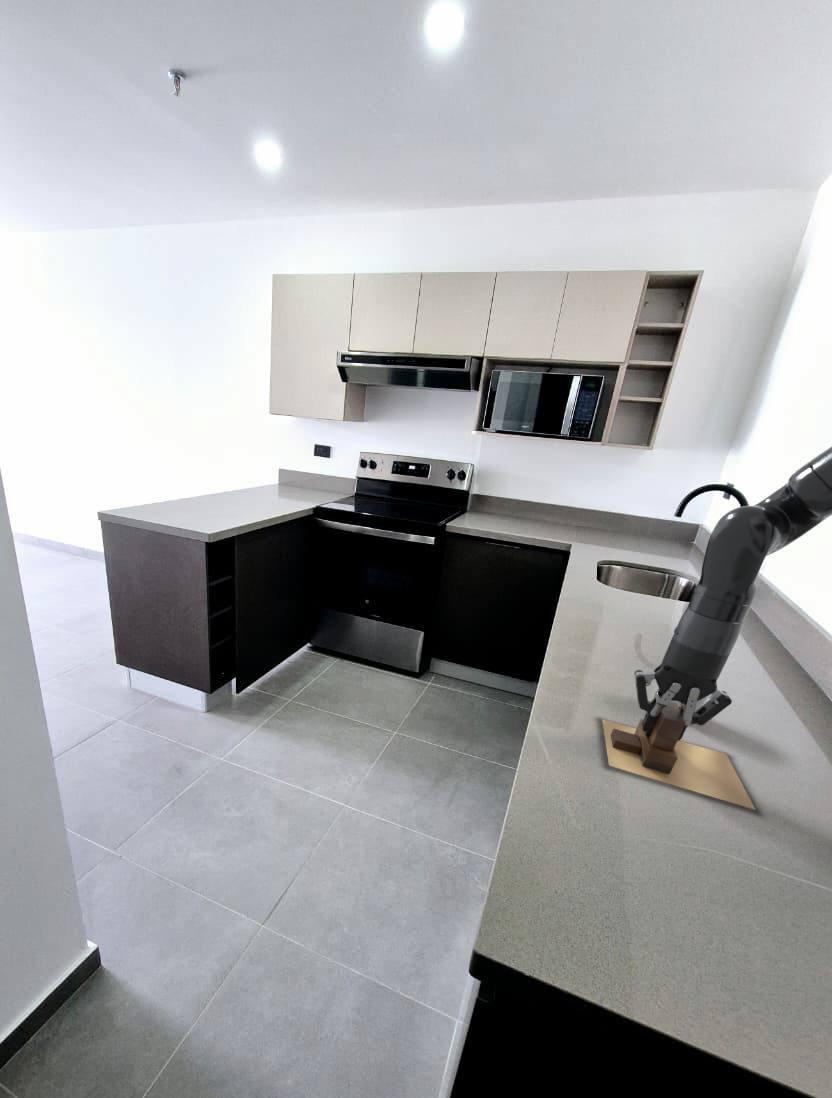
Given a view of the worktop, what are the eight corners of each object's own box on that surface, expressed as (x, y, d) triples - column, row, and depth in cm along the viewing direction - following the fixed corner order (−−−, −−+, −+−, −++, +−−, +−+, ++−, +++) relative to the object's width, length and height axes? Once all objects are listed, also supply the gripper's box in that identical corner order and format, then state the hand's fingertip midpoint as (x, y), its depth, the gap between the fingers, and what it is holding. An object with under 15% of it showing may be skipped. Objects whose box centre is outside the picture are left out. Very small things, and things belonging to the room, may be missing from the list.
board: (723, 758, 86) (726, 753, 86) (752, 814, 74) (755, 809, 73) (600, 723, 92) (602, 719, 92) (607, 770, 79) (609, 765, 79)
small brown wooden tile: (635, 742, 86) (638, 735, 85) (638, 755, 82) (641, 747, 82) (610, 735, 87) (613, 728, 86) (612, 747, 84) (615, 740, 83)
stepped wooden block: (659, 740, 87) (678, 699, 84) (669, 774, 78) (691, 729, 75) (634, 733, 88) (651, 692, 85) (642, 766, 80) (662, 721, 76)
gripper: (654, 638, 73) (614, 735, 81) (765, 663, 69) (713, 763, 77) (646, 622, 80) (610, 713, 87) (747, 644, 76) (701, 738, 83)
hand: (658, 736), depth 82 cm, fingers closed on stepped wooden block, 3 cm apart
